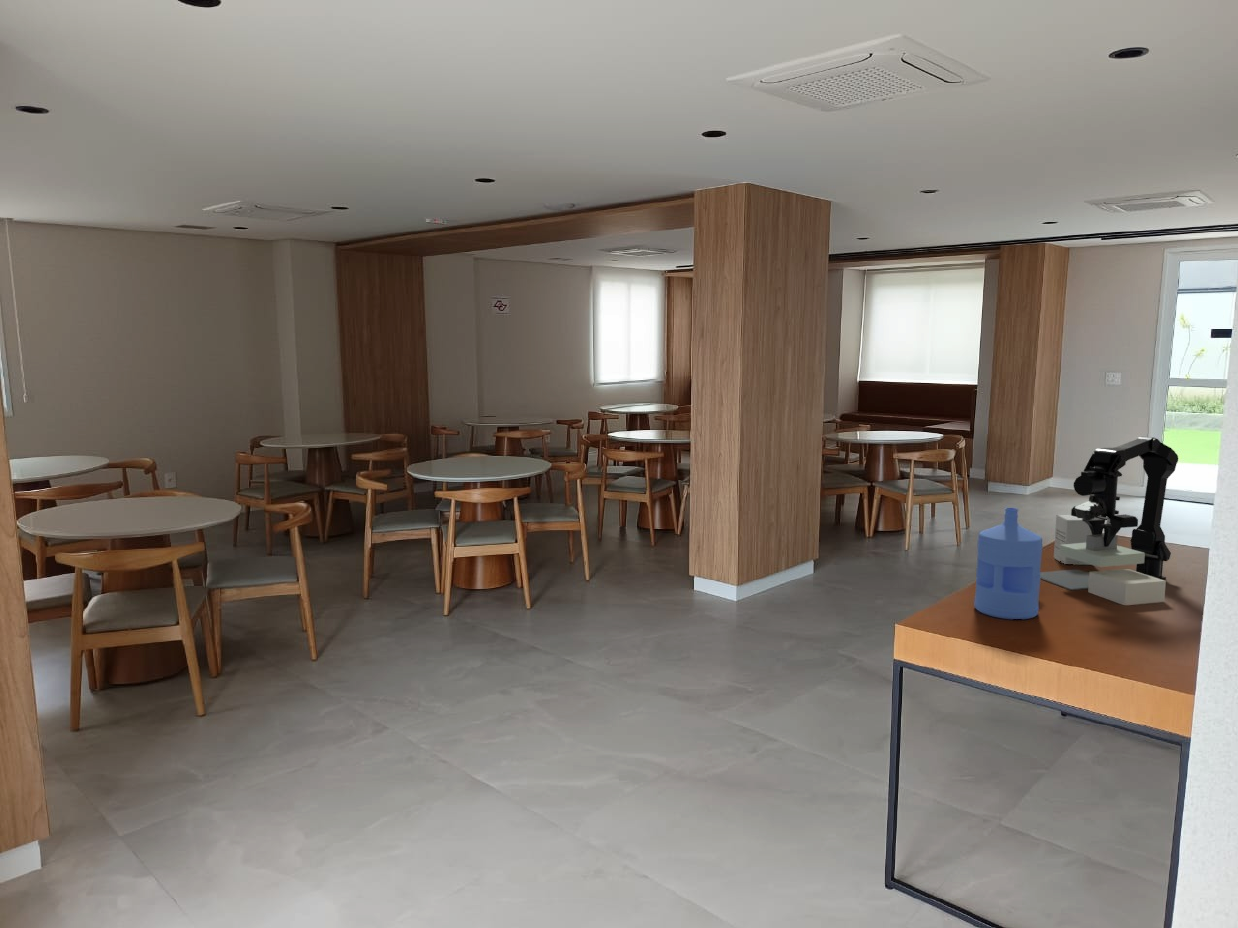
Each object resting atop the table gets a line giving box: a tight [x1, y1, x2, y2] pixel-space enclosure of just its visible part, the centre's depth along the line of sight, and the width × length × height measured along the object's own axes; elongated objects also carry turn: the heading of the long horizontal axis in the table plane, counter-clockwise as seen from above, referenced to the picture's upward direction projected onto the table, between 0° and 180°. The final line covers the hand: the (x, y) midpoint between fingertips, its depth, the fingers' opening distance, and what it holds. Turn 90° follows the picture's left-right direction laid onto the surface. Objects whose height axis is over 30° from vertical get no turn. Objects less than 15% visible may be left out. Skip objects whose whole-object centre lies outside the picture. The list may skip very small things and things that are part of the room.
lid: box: [1059, 533, 1145, 568], centre depth 242 cm, size 15×15×7 cm
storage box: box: [1087, 568, 1167, 606], centre depth 234 cm, size 13×13×6 cm
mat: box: [1040, 569, 1090, 591], centre depth 252 cm, size 18×18×1 cm
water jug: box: [973, 507, 1043, 620], centre depth 221 cm, size 16×16×28 cm
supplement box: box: [1053, 514, 1092, 566], centre depth 273 cm, size 9×9×15 cm
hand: (1101, 545), depth 242 cm, fingers closed on lid, 3 cm apart
